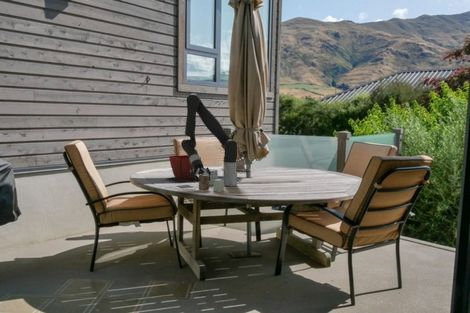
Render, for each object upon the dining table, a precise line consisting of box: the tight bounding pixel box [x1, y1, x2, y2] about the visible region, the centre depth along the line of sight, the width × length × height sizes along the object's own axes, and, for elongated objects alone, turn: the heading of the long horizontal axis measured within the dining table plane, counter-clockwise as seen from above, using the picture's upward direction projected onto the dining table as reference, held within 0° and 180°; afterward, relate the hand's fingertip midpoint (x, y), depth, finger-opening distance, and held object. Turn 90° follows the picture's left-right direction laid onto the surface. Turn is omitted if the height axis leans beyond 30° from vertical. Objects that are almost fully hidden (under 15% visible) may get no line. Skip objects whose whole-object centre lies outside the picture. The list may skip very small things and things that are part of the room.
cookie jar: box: [221, 159, 247, 172], centre depth 397 cm, size 25×25×32 cm
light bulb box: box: [202, 168, 219, 186], centre depth 314 cm, size 11×7×11 cm, turn 141°
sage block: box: [212, 178, 225, 193], centre depth 288 cm, size 5×5×8 cm
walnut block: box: [198, 174, 210, 192], centre depth 291 cm, size 5×5×10 cm
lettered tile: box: [195, 188, 212, 192], centre depth 291 cm, size 9×9×1 cm
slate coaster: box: [176, 184, 194, 189], centre depth 301 cm, size 9×9×1 cm
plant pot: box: [168, 154, 202, 180], centre depth 342 cm, size 19×19×17 cm
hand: (203, 180), depth 290 cm, fingers open, 8 cm apart
